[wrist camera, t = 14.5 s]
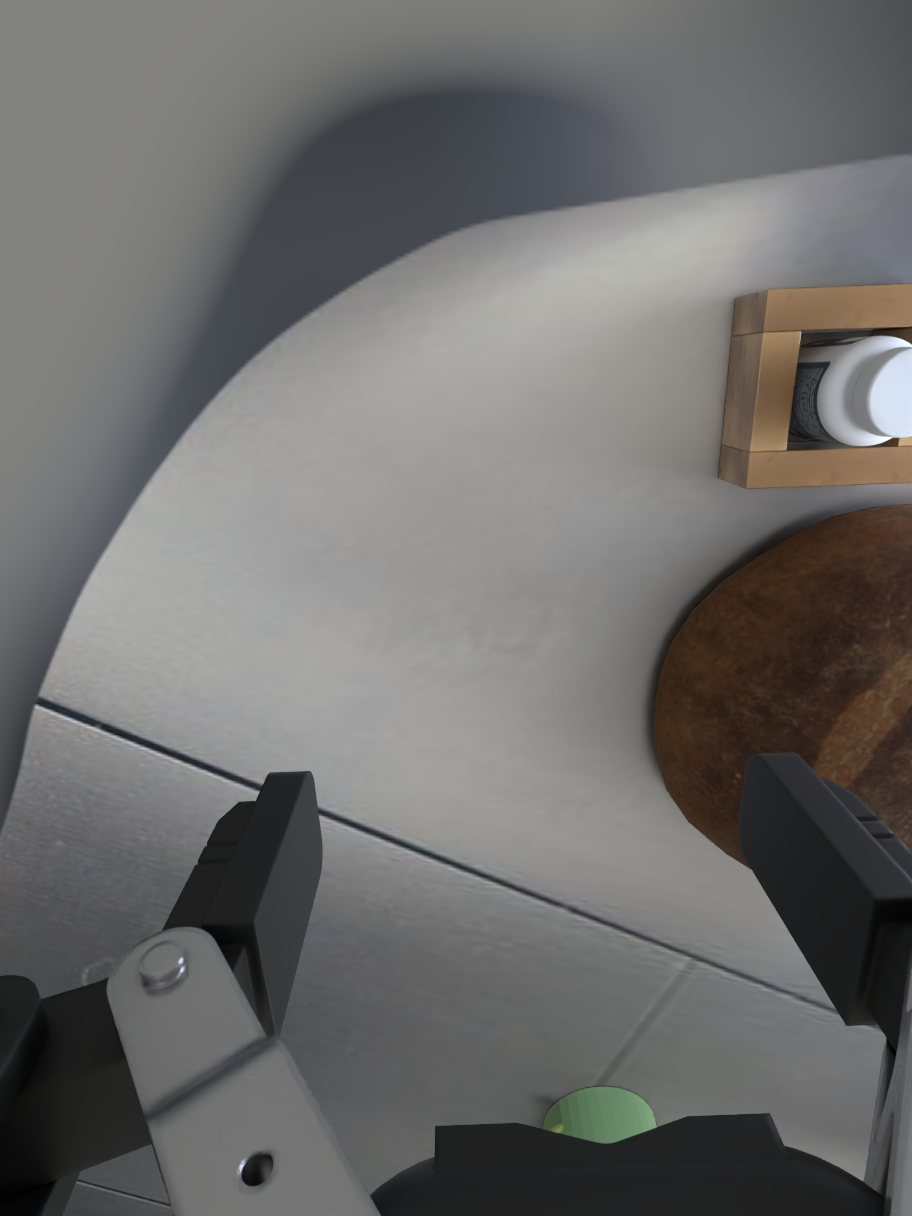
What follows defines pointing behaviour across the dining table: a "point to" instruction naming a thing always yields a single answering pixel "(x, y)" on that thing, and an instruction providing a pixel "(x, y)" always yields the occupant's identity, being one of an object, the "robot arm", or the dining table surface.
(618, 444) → the dining table surface
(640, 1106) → the mug
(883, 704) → the bread
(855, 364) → the pill bottle
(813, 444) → the holder
